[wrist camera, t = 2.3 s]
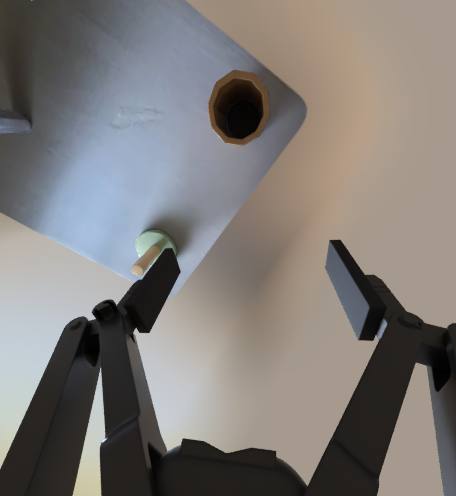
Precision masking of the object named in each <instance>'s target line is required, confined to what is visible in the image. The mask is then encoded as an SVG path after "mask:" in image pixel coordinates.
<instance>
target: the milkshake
mask: <svg viewBox="0 0 456 496" xmlns="http://www.w3.org/2000/svg"><path fill="white" fill-rule="evenodd" d="M31 128H32V127H31V123H30V120H29V119H28V118H27V117H26V115H24V114H23V113H21V112H19V111H14V110H9V109H4V108H0V134H17V133H28V132H30V131H31Z"/></svg>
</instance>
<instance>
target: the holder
mask: <svg viewBox="0 0 456 496" xmlns="http://www.w3.org/2000/svg"><path fill="white" fill-rule="evenodd" d="M165 248H173V250H174V253H175V256H176V253H177V249H176V245H175V243H174V241H173V240H172V239H171V237H170V236H168V235H167V234H166V233H164V232H162V231H159V230H147V231H145V232H143V233H142V234H141V235H140V236H139V237H138V238H137V240H136V250H137V253H138V254H139V256H140V258H139V259H138V261H137V262H136V263H135V264H134V265H133V266H132V267H131V271H132V272H133V273H134V274H135V275H138V276H140V275H142V274H143V273H144V272H145V271H146V269H147V268H148V267H149V266H150V265H153V264H154V262H155V261H156V260H157V258H158V257H159V256H160V254H161V253H162V251H163V250H164V249H165Z"/></svg>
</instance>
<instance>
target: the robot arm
mask: <svg viewBox="0 0 456 496" xmlns="http://www.w3.org/2000/svg"><path fill="white" fill-rule="evenodd" d="M325 268H326V271H327V273H328V275H329V277H330V279H331V282H332V284H333V286H334V288H335V290H336V292H337V295H338V297H339V299H340V301H341V303H342V305H343V308H344V310H345V312H346V314H347V317H348V319H349V321H350V323H351V325H352V327H353V330H354V332H355V334H356V336H357V338H358V340H367V341H373V340H374V338H375V335H377V337H378V339H379V342H378V344H377V346H376V348H375V350H374V352H373V354H372V356H371V358H370V360H369V362H368V365H367V367H366V369H365V371H364V373H363V375H362V377H361V379H360V381H359V383H358V385H357V387H356V389H355V391H354V393H353V395H352V397H351V399H350V401H349V404H348V406H347V408H346V410H345V412H344V414H343V416H342V418H341V420H340V422H339V424H338V426H337V428H336V430H335V432H334V434H333V436H332V438H331V440H330V442H329V444H328V446H327V448H326V450H325V452H324V454H323V456H322V458H321V460H320V462H319V464H318V466H317V468H316V470H315V472H314V474H313V477H312V479H311V481H310V483H309V485H308V487H307V485H306V484H305V482H304V481H303V480H302V478H301V477H300V476H299V475H298V473H297V472H296V471H295V470H294V469H293V468H292V467H291V466H289V465H288V464H287V463H285V462H284V461H283V460H281V459H279V458H277V457H276V451H272V450H265V449H257V448H249V449H244V450H240V451H235V452H231V453H224V452H223V451H221V450H219V449H217V448H215V447H213V446H211V445H210V444H208V443H206V442H204V441H198V440H191V439H182V443H181V445H180V446H177V447H175V448H173V449H171V450H169V451H168V452H167V449H166V446H165V444H164V442H163V439H162V437H161V434H160V430H159V426H158V422H157V419H156V415H155V411H154V407H153V404H152V399H151V395H150V391H149V388H148V384H147V380H146V376H145V372H144V368H143V364H142V360H141V356H140V353H139V349H138V345H137V341H136V337H135V335H134V333H133V332H134V330H135V328H137V330H138V331H139V333H150V331H151V329H152V327H153V325H154V323H155V321H156V319H157V317H158V315H159V313H160V311H161V309H162V307H163V305H164V303H165V301H166V299H167V298H168V296H169V294H170V292H171V290H172V288H173V286H174V284H175V282H176V280H177V278H178V276H179V274H180V272H181V271H180V268H179V265H178V262H177V259H176V256H175V253H174V250H173V248H165V249H164V250H163V251H162V253H161V254H160V256H159V257H158V258H157V260H156V261H155V262H154V264H153V265H152V267H151V268H150V269H149V271H148V272H147V273H146V275H145V276H144V277H143V279H142V280H138V281H136V282H135V283H134V284H133V285H132V286H131V288H130V289H129V291H127V293H126V294H125V295H124V297H123V298H122V299H121V301H120V302H119V303H118V304H117V305H116V304H115V302H114V301H113V300H105V301H103V302H101V303H99V304H98V305H96V306H95V307H94V309H93V311H92V313H93V315H94V316H95V318H96V319H94V320H91V321H88V319H87V318H86V317H83V316H82V317H78V318H76V319H74V320H72V321H71V322H69V323H68V324H67V325H66V326H65V328H64V330H63V332H62V334H61V336H60V339H59V341H58V343H57V345H56V347H55V350H54V352H53V354H52V356H51V358H50V361H49V363H48V365H47V367H46V369H45V372H44V374H43V376H42V378H41V381H40V383H39V385H38V387H37V389H36V392H35V394H34V396H33V398H32V401H31V403H30V405H29V407H28V409H27V411H26V414H25V416H24V418H23V420H22V423H21V425H20V427H19V429H18V431H17V433H16V436H15V438H14V440H13V442H12V444H11V447H10V449H9V451H8V453H7V456H6V458H5V460H4V462H3V465H2V466H1V469H0V496H72V495H73V491H74V487H75V482H76V478H77V473H78V469H79V464H80V459H81V455H82V450H83V445H84V441H85V436H86V432H87V427H88V423H89V418H90V413H91V409H92V404H93V400H94V395H95V390H96V385H97V381H98V376H99V372H100V367H101V373H102V387H103V403H104V417H105V433H106V434H105V440H104V441H103V442H102V443H101V446H100V471H101V495H102V496H377V493H378V488H379V475H380V472H381V469H382V466H383V463H384V460H385V457H386V453H387V450H388V447H389V444H390V441H391V437H392V434H393V432H394V428H395V425H396V422H397V419H398V416H399V413H400V409H401V406H402V403H403V400H404V397H405V394H406V391H407V388H408V385H409V381H410V378H411V375H412V372H413V369H414V366H415V363H416V362H417V363H420V364H423V365H427V371H428V379H429V386H430V394H431V401H432V409H433V416H434V424H435V430H436V439H437V447H438V454H439V462H440V469H441V476H442V484H443V492H444V496H456V323H452V324H451V325H449V326H448V327H447V328H442V327H438V326H434V325H430V324H426V323H424V322H423V320H422V319H420V318H419V317H418V316H416V315H414V314H412V313H409V312H407V311H406V310H405V309H404V308H403V306H402V305H401V304H400V303H399V301H398V300H397V299H396V298H395V296H394V295H393V294H392V293H391V291H390V290H389V288H387V286H386V285H385V284H384V282H383V281H382V280H381V279H380V278H378V277H377V276H375V275H364V273H363V272H362V270H361V269H360V267H359V266H358V264H357V263H356V262H355V260H354V259H353V257H352V256H351V254H350V253H349V251H348V250H347V249H346V247H345V246H344V244H343V243H342V241H341V240H330V241H329V248H328V254H327V261H326V267H325Z"/></svg>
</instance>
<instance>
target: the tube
mask: <svg viewBox="0 0 456 496" xmlns="http://www.w3.org/2000/svg"><path fill="white" fill-rule="evenodd" d="M241 99H243V100H249V101H253V103H254V104H255V105H256V106H257V108H258V109H259V110H260V124H259V126H258V128H257V130H256V132H254V133H252V134H251V135H249V136H247V137H245V138H244V139H239V138H235V137H234V135H233V134H232V133H231V132H230V131H229V130H228V123H227V115H228V113H229V110H230V108H231V106H232V105H233V104H235V103H236V102H238V101H239V100H241ZM208 112H209V117H210V123H211V127H212V129H213V130H214V131H215V133H216V134H217V135H218V136H219V137H220V138H221V139H222V140H223V141H224V142H225V143H229V144H235V145H241V146H242V145H245V144H247V143H249V142H250V141H252V140H254V139H256V138H257V137H259V136H260V134H261V132H262V130H263V128H264V126H265V124H266V122H267V120H268V118H269V115H270V111H269V94H268V90H267V89H266V88H265V86H264V85H263V84H262V82H261V81H260V80H259V79H258V77H257V76H256V75H255V74H254V73H250V72H244V71H237V70H234V71H231V72H230V73H228V74H227V75H226V76H224V77H223V78H222V79H220V80H219V81H217V82H216V84H215V86H214V88H213V91H212V94H211V97H210V100H209V103H208Z"/></svg>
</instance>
